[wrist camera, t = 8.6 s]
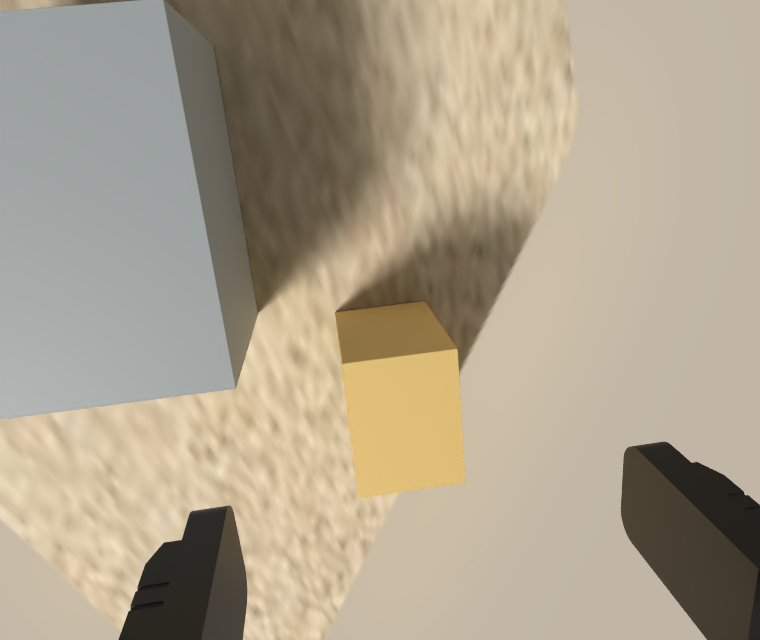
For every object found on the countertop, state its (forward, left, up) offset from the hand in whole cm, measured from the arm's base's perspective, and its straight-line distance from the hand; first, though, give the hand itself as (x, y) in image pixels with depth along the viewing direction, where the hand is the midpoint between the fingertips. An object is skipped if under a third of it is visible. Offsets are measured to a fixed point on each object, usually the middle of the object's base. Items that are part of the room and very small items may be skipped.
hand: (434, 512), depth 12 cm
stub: (+4, +1, -18) cm, 18 cm away
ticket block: (-5, -9, -18) cm, 21 cm away
